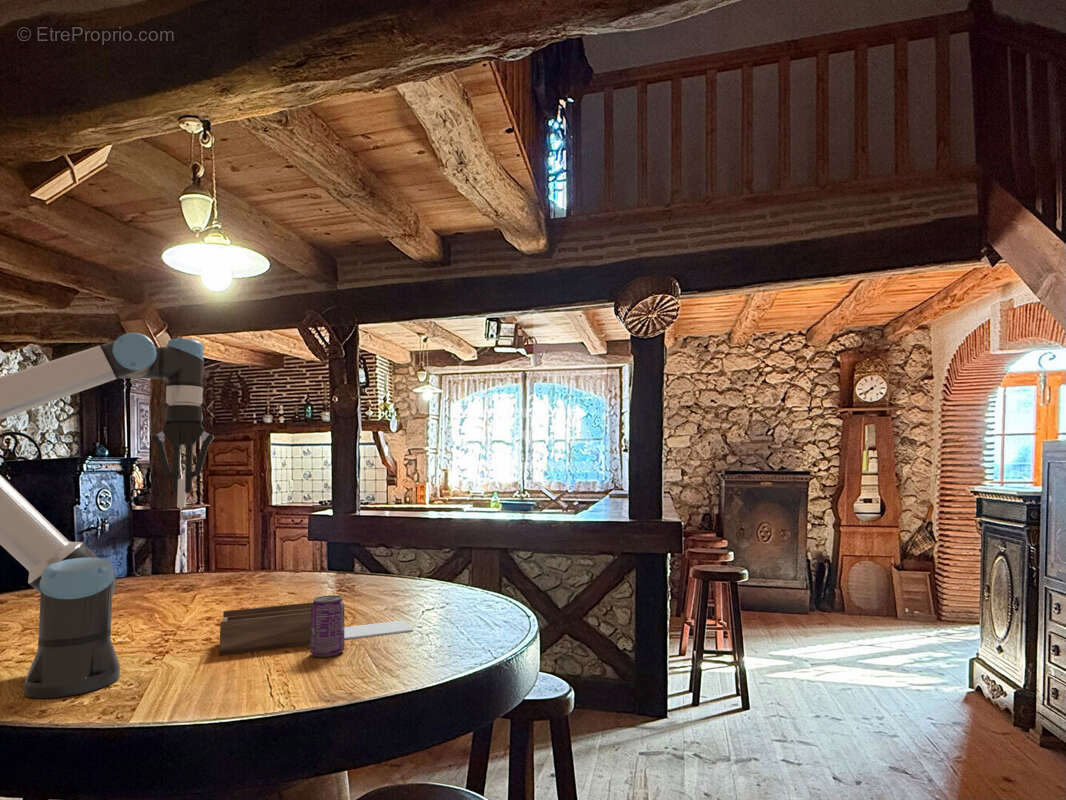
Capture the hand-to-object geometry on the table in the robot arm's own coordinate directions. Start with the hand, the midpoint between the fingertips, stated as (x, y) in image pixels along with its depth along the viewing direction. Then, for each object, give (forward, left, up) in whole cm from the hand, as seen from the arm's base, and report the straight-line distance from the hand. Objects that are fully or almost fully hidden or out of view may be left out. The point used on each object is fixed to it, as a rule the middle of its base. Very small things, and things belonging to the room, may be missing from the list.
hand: (181, 507), depth 149 cm
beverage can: (-17, -31, -33) cm, 48 cm away
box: (-1, -20, -32) cm, 38 cm away
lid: (-1, -42, -33) cm, 53 cm away
